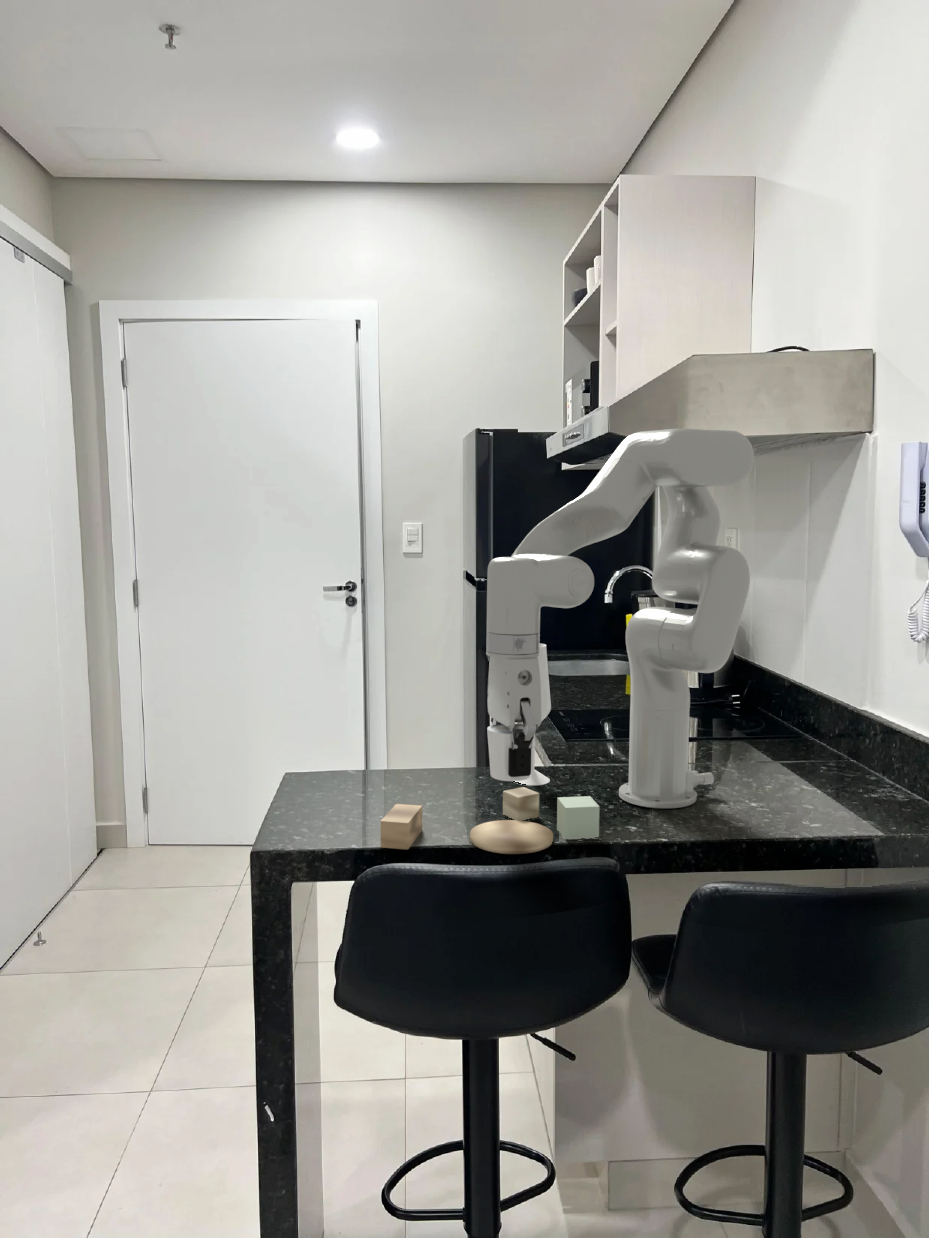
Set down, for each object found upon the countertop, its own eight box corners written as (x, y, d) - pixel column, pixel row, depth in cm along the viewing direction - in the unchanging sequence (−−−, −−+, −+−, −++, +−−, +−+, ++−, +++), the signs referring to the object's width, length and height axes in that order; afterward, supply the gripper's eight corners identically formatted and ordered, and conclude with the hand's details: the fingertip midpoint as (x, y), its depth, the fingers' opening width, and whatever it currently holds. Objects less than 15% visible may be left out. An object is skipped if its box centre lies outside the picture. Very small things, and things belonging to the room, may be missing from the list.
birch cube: (523, 811, 149) (523, 786, 148) (538, 818, 145) (539, 793, 145) (502, 815, 146) (503, 791, 146) (518, 823, 143) (518, 797, 143)
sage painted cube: (589, 828, 141) (590, 796, 140) (598, 840, 136) (599, 806, 135) (556, 830, 140) (557, 797, 140) (565, 841, 135) (565, 807, 135)
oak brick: (396, 829, 140) (396, 803, 140) (422, 831, 139) (422, 805, 139) (380, 848, 133) (380, 821, 132) (408, 850, 132) (408, 823, 131)
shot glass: (544, 775, 135) (544, 727, 134) (514, 785, 130) (515, 735, 129) (506, 767, 139) (507, 720, 139) (476, 776, 134) (477, 727, 134)
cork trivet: (534, 821, 143) (534, 816, 143) (566, 848, 132) (566, 843, 132) (459, 829, 140) (459, 824, 140) (485, 858, 128) (485, 852, 128)
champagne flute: (543, 773, 170) (545, 641, 167) (555, 784, 163) (557, 647, 160) (507, 775, 168) (508, 642, 165) (517, 786, 162) (519, 648, 159)
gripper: (562, 652, 126) (559, 784, 128) (515, 636, 142) (513, 753, 144) (509, 654, 123) (507, 788, 125) (468, 638, 140) (466, 756, 142)
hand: (510, 768), depth 135 cm, fingers closed on shot glass, 6 cm apart
